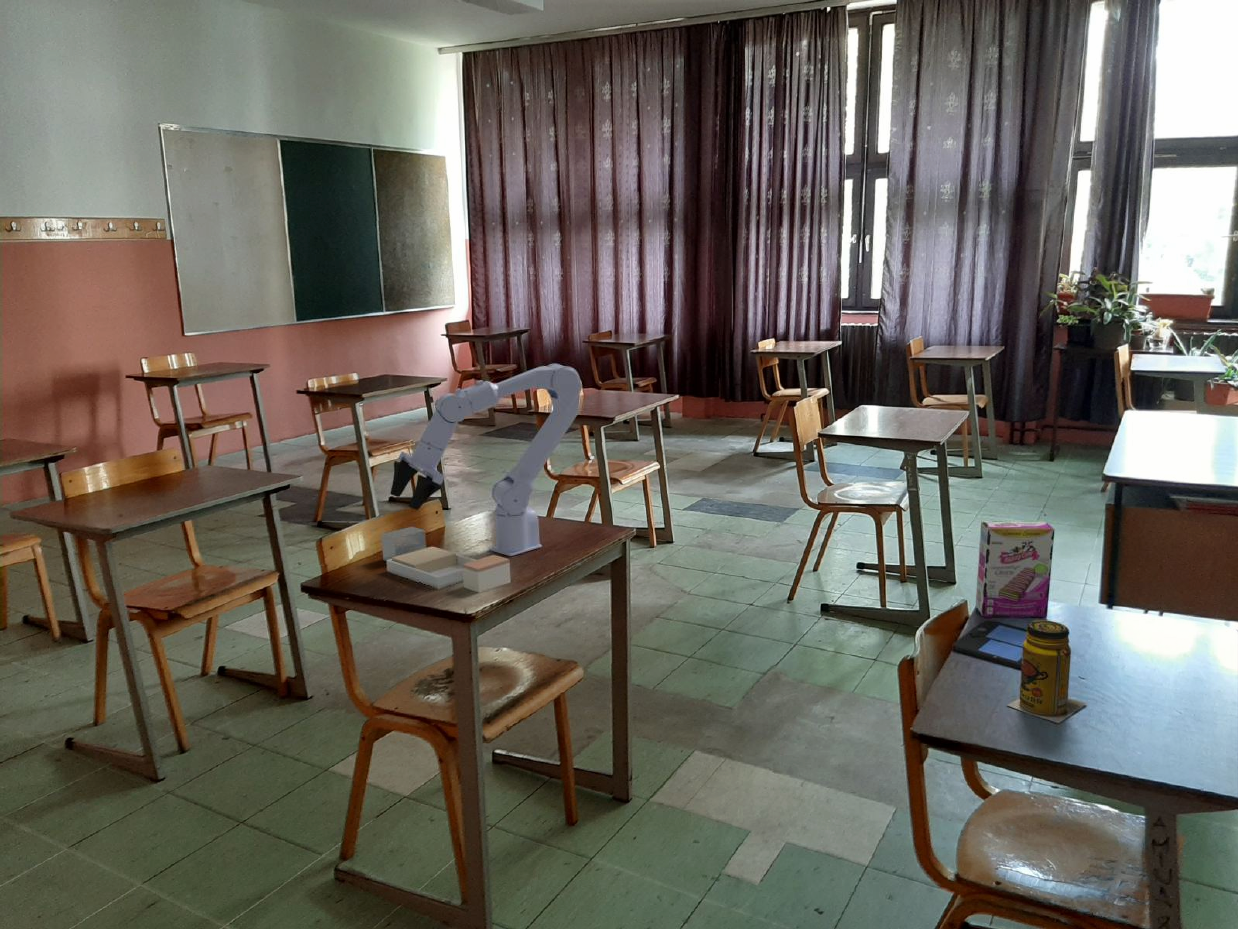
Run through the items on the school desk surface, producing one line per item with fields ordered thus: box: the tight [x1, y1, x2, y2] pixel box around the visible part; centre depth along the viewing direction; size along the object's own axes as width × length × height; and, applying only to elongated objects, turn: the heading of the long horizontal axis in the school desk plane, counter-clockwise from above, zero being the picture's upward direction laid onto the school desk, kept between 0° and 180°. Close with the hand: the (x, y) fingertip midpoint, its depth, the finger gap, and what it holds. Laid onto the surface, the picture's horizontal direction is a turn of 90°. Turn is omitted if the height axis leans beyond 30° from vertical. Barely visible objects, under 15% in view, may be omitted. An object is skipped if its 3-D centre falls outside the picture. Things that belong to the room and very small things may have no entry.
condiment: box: [1007, 619, 1088, 724], centre depth 128 cm, size 7×8×12 cm
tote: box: [386, 546, 476, 590], centre depth 194 cm, size 12×18×3 cm
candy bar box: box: [975, 520, 1056, 618], centre depth 161 cm, size 11×5×16 cm, turn 84°
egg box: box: [462, 554, 512, 594], centre depth 185 cm, size 8×5×5 cm, turn 137°
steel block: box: [380, 526, 427, 562], centre depth 205 cm, size 8×5×6 cm, turn 137°
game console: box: [951, 620, 1027, 671], centre depth 147 cm, size 14×13×2 cm
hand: (403, 501), depth 198 cm, fingers open, 7 cm apart
